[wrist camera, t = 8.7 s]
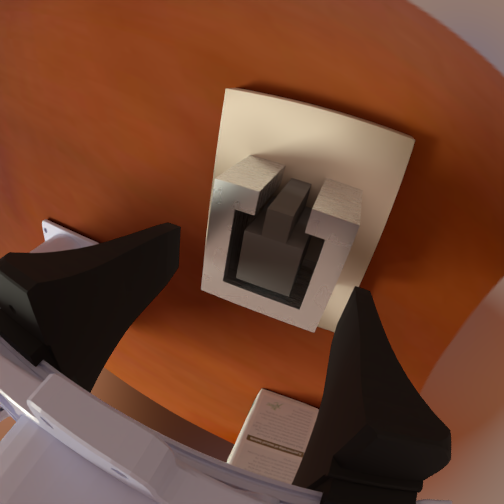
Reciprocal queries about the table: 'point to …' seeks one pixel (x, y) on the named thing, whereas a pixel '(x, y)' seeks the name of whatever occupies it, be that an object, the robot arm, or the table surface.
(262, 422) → the syrup box
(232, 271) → the grey slotted channel block
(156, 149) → the table surface
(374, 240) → the keyed post base
